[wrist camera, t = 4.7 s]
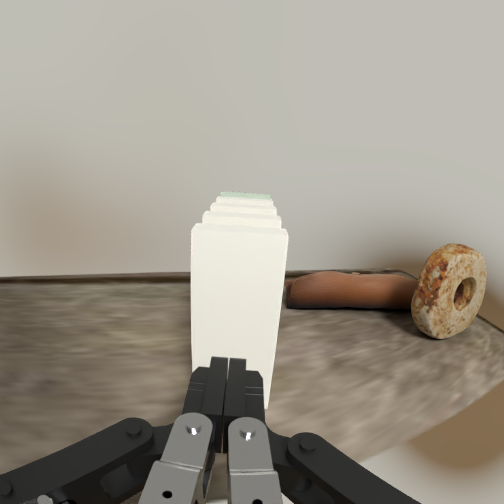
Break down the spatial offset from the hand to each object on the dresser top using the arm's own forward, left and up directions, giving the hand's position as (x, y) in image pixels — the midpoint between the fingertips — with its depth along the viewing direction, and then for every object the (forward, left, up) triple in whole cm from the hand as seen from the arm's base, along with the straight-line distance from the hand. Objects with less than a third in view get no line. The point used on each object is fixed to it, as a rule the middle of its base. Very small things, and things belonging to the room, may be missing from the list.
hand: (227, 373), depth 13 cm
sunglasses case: (+14, +24, -8) cm, 29 cm away
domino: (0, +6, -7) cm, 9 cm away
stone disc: (+22, +15, -7) cm, 28 cm away
